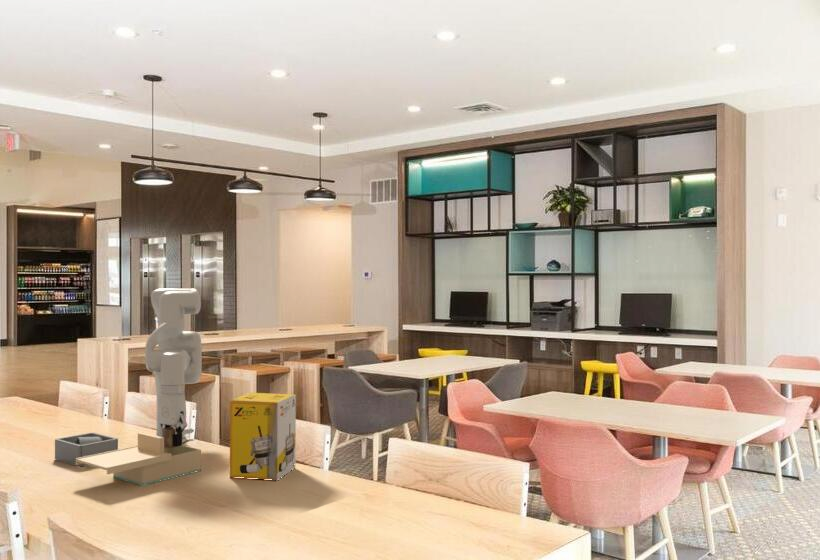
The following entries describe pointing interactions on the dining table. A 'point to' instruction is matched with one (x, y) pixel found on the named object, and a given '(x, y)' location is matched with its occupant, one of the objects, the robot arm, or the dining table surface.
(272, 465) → the packaging box
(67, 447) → the coaster tray
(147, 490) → the dining table surface
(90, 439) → the ceramic mug
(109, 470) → the lid
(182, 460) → the base
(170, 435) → the walnut block
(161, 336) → the robot arm
